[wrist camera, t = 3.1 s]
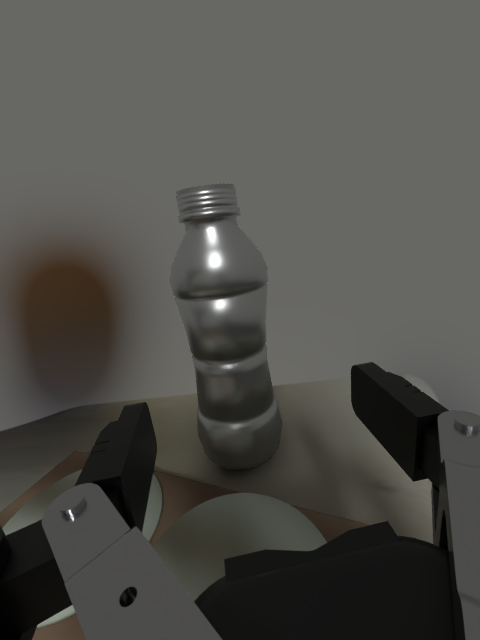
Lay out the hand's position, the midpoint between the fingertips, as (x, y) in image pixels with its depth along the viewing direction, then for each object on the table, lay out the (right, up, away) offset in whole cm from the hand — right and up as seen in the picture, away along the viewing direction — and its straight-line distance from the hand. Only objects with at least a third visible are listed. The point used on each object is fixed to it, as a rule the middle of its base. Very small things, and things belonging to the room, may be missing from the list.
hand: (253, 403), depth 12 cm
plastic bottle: (0, -8, +13) cm, 15 cm away
